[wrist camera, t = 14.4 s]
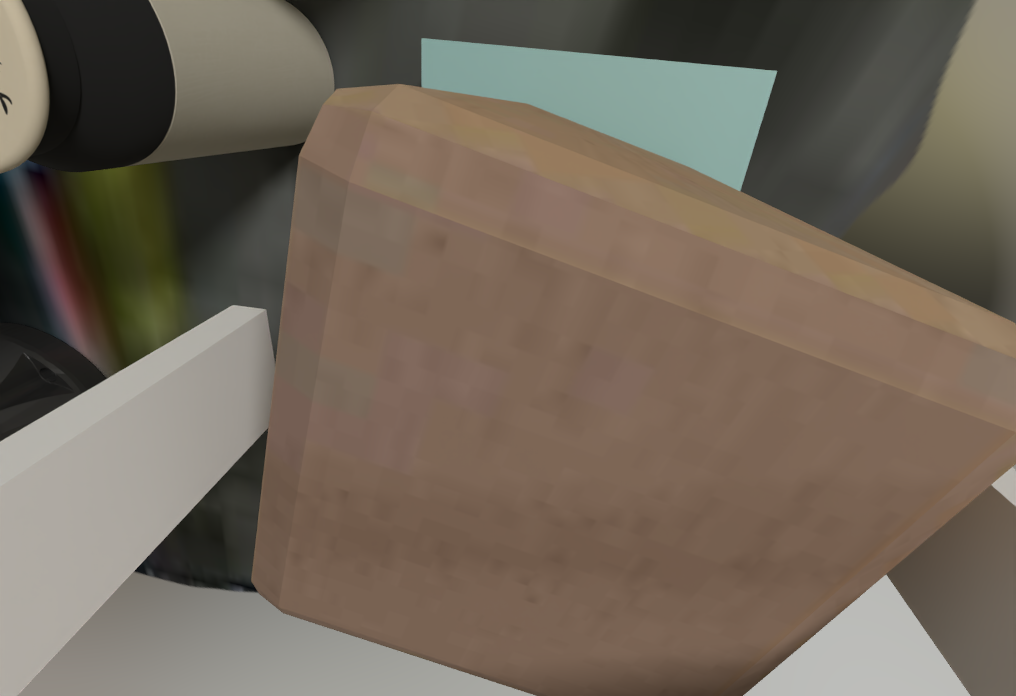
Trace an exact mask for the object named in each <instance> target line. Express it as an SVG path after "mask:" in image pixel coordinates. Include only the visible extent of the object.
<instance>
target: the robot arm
mask: <svg viewBox="0 0 1016 696" xmlns="http://www.w3.org/2000/svg"><path fill="white" fill-rule="evenodd" d="M274 374H275V361H274V355H273V348H272V342H271V336H270V330H269V324H268V318H267V312H266V309H259V308H251V307H243V306H235V305H232V306H231V307H229V308H227V309H225V310H224V311H222V312H220V313H219V314H217V315H215V316H213V317H212V318H210V319H208V320H207V321H205V322H203V323H202V324H200V325H198V326H196V327H195V328H193V329H191V330H190V331H188V332H186V333H184V334H183V335H181V336H179V337H178V338H176V339H174V340H173V341H171V342H169V343H167V344H166V345H164V346H162V347H161V348H159V349H157V350H156V351H154V352H152V353H150V354H149V355H147V356H145V357H144V358H142V359H140V360H138V361H137V362H135V363H133V364H132V365H130V366H128V367H127V368H125V369H123V370H121V371H120V372H118V373H116V374H115V375H113V376H111V377H109V378H108V379H106V378H105V377H104V376H103V375H102V374H101V373H100V371H99V370H98V369H97V368H96V367H95V366H94V365H93V364H92V363H91V362H89V361H88V360H87V359H86V358H85V357H84V356H82V355H81V354H80V353H79V352H77V351H76V350H74V349H73V348H72V347H70V346H69V345H67V344H66V343H64V342H62V341H61V340H59V339H57V338H55V337H53V336H51V335H49V334H47V333H45V332H42V331H40V330H37V329H35V328H31V327H28V326H24V325H20V324H14V323H0V696H18V695H19V694H20V693H21V691H23V689H24V688H25V687H26V686H27V685H28V684H29V683H30V682H31V681H32V680H33V679H34V678H35V677H36V676H37V674H38V673H39V672H40V671H41V670H42V669H43V668H44V667H45V666H46V665H47V663H49V661H50V660H51V659H52V658H53V657H54V656H55V655H56V654H57V653H58V652H59V651H60V650H61V649H62V648H63V647H64V646H65V644H66V643H67V642H68V641H69V640H70V639H71V638H72V637H73V636H74V635H75V634H76V633H77V632H78V630H79V629H80V628H81V627H82V626H83V625H84V624H85V623H86V622H87V621H88V620H89V619H90V618H91V617H92V616H93V615H94V613H95V612H96V611H97V610H98V609H99V608H100V607H101V606H102V605H103V604H104V603H105V602H106V600H108V598H109V597H110V596H111V595H112V594H113V593H114V592H115V591H116V590H117V589H118V588H119V587H120V586H121V584H122V583H123V582H124V581H125V580H126V579H127V578H128V577H129V576H130V575H131V574H132V573H133V572H134V571H135V570H136V569H137V567H138V566H139V565H140V564H141V563H142V562H143V561H144V560H145V559H146V558H147V557H148V556H149V555H150V554H151V552H152V551H153V550H154V549H155V548H156V547H157V546H158V545H159V544H160V543H161V542H162V541H163V540H164V539H165V537H166V536H167V535H168V534H169V533H170V532H171V531H172V530H173V529H174V528H175V527H176V526H177V525H178V524H179V522H180V521H181V520H182V519H183V518H184V517H185V516H186V515H187V514H188V513H189V512H190V511H191V510H192V509H193V507H194V506H195V505H196V504H197V503H198V502H199V501H200V500H201V499H202V498H203V497H204V496H205V495H206V494H207V493H208V491H209V490H210V489H211V488H212V487H213V486H214V485H215V484H216V483H217V482H218V481H219V480H220V479H221V478H222V476H223V475H224V474H225V473H226V472H227V471H228V470H229V469H230V468H231V467H232V466H233V465H234V464H235V463H236V461H237V460H238V459H239V458H240V457H241V456H242V455H243V454H244V453H245V452H246V451H247V450H248V449H249V448H250V446H251V445H252V444H253V443H254V442H255V441H256V440H257V439H258V438H259V437H260V436H261V435H262V434H263V433H264V432H265V430H266V429H267V428H268V427H269V419H270V410H271V401H272V392H273V383H274ZM886 575H887V576H888V577H889V579H890V580H891V582H892V583H893V585H894V586H895V587H896V589H897V590H898V592H899V593H900V595H901V596H902V598H903V599H904V600H905V602H906V603H907V605H908V606H909V608H910V609H911V610H912V612H913V613H914V615H915V616H916V618H917V619H918V620H919V622H920V623H921V625H922V626H923V628H924V629H925V631H926V632H927V634H928V635H929V636H930V638H931V639H932V641H933V642H934V644H935V645H936V646H937V648H938V649H939V651H940V652H941V654H942V655H943V656H944V658H945V659H946V661H947V662H948V664H949V665H950V667H951V668H952V669H953V671H954V672H955V673H956V675H957V677H958V678H959V680H960V681H961V682H962V684H963V685H964V687H965V688H966V690H967V691H968V692H969V694H970V695H971V696H1016V470H1015V469H1014V468H1013V467H1012V468H1010V469H1009V470H1008V471H1007V472H1006V473H1004V474H1003V475H1002V476H1001V477H1000V478H999V479H997V480H996V481H995V482H994V483H993V484H992V485H990V486H989V487H988V488H987V489H986V490H984V491H983V492H982V493H981V494H980V495H979V496H977V497H976V498H975V499H974V500H973V501H971V502H970V503H969V504H968V505H967V506H966V507H964V508H963V509H962V510H961V511H960V512H959V513H957V514H956V515H955V516H954V517H953V518H951V519H950V520H949V521H948V522H947V523H946V524H944V525H943V526H942V527H941V528H940V529H939V530H937V531H936V532H935V533H934V534H933V535H931V536H930V537H929V538H928V539H927V540H926V541H924V542H923V543H922V544H921V545H920V546H919V547H917V548H916V549H915V550H914V551H913V552H911V553H910V554H909V555H908V556H907V557H906V558H904V559H903V560H902V561H901V562H900V563H898V564H897V565H896V566H895V567H894V568H893V569H891V570H890V571H889V572H888V573H887V574H886Z"/></svg>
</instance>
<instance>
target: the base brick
mask: <svg viewBox="0 0 1016 696" xmlns="http://www.w3.org/2000/svg"><path fill="white" fill-rule="evenodd" d="M776 73H777V71H770V70H759V69H749V68H738V67H727V66H716V65H705V64H695V63H684V62H673V61H662V60H651V59H641V58H630V57H619V56H608V55H597V54H587V53H576V52H565V51H554V50H543V49H533V48H522V47H511V46H500V45H489V44H479V43H468V42H457V41H446V40H435V39H425V38H422V87H423V88H429V89H436V90H442V91H449V92H455V93H462V94H468V95H475V96H481V97H488V98H494V99H501V100H507V101H514V102H520V103H527V104H530V105H532V106H535V107H537V108H540V109H542V110H545V111H548V112H550V113H553V114H555V115H558V116H560V117H563V118H565V119H568V120H571V121H573V122H576V123H578V124H581V125H583V126H586V127H588V128H591V129H594V130H596V131H599V132H601V133H604V134H606V135H609V136H611V137H614V138H616V139H619V140H622V141H624V142H627V143H629V144H632V145H634V146H637V147H639V148H642V149H645V150H647V151H650V152H652V153H655V154H657V155H660V156H662V157H665V158H667V159H670V160H673V161H675V162H678V163H680V164H683V165H685V166H688V167H690V168H692V169H694V170H696V171H698V172H700V173H703V174H705V175H707V176H709V177H711V178H713V179H715V180H717V181H719V182H721V183H723V184H726V185H728V186H730V187H732V188H734V189H736V190H738V191H740V190H741V187H742V183H743V180H744V177H745V174H746V170H747V167H748V164H749V161H750V157H751V154H752V151H753V148H754V145H755V141H756V138H757V135H758V132H759V128H760V125H761V122H762V119H763V115H764V112H765V109H766V106H767V102H768V99H769V96H770V93H771V89H772V86H773V83H774V80H775V77H776Z"/></svg>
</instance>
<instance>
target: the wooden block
mask: <svg viewBox="0 0 1016 696" xmlns="http://www.w3.org/2000/svg"><path fill="white" fill-rule="evenodd" d="M1015 464H1016V324H1015V323H1014V322H1012V321H1010V320H1007V319H1006V318H1003V317H1001V316H999V315H997V314H995V313H993V312H991V311H988V310H987V309H985V308H982V307H980V306H978V305H976V304H974V303H972V302H970V301H968V300H966V299H964V298H962V297H959V296H957V295H955V294H953V293H951V292H949V291H947V290H945V289H943V288H941V287H939V286H937V285H934V284H932V283H930V282H928V281H926V280H924V279H922V278H920V277H918V276H915V275H914V274H911V273H909V272H907V271H905V270H903V269H901V268H899V267H897V266H895V265H892V264H891V263H888V262H886V261H884V260H882V259H880V258H878V257H876V256H874V255H872V254H869V253H868V252H866V251H863V250H861V249H859V248H857V247H855V246H853V245H851V244H849V243H846V242H845V241H843V240H840V239H838V238H836V237H834V236H832V235H830V234H828V233H826V232H824V231H822V230H820V229H817V228H815V227H813V226H811V225H809V224H807V223H805V222H803V221H801V220H799V219H797V218H795V217H792V216H790V215H788V214H786V213H784V212H782V211H780V210H778V209H776V208H774V207H772V206H769V205H767V204H765V203H763V202H761V201H759V200H757V199H755V198H753V197H751V196H749V195H746V194H744V193H742V192H740V191H738V190H736V189H734V188H732V187H730V186H728V185H726V184H723V183H721V182H719V181H717V180H715V179H713V178H711V177H709V176H707V175H705V174H703V173H700V172H698V171H696V170H694V169H692V168H690V167H688V166H685V165H683V164H680V163H678V162H675V161H673V160H670V159H667V158H665V157H662V156H660V155H657V154H655V153H652V152H650V151H647V150H645V149H642V148H639V147H637V146H634V145H632V144H629V143H627V142H624V141H622V140H619V139H616V138H614V137H611V136H609V135H606V134H604V133H601V132H599V131H596V130H594V129H591V128H588V127H586V126H583V125H581V124H578V123H576V122H573V121H571V120H568V119H565V118H563V117H560V116H558V115H555V114H553V113H550V112H548V111H545V110H542V109H540V108H537V107H535V106H532V105H530V104H527V103H520V102H514V101H507V100H501V99H494V98H488V97H481V96H475V95H468V94H462V93H455V92H449V91H442V90H436V89H429V88H423V87H416V86H410V85H403V84H393V85H380V86H368V87H355V88H342V89H337V90H336V91H335V92H334V93H333V94H332V95H331V96H330V97H329V98H328V99H327V100H326V102H325V103H324V104H323V105H322V107H321V110H320V112H319V114H318V116H317V118H316V120H315V122H314V125H313V127H312V129H311V131H310V133H309V135H308V137H307V139H306V142H305V144H304V146H303V148H302V150H301V152H300V154H299V160H298V169H297V178H296V187H295V196H294V205H293V214H292V223H291V232H290V241H289V249H288V258H287V267H286V276H285V285H284V294H283V303H282V312H281V321H280V330H279V339H278V347H277V356H276V365H275V374H274V383H273V392H272V401H271V410H270V419H269V428H268V436H267V445H266V454H265V463H264V472H263V481H262V490H261V499H260V508H259V517H258V526H257V534H256V543H255V552H254V561H253V570H252V579H251V581H252V583H253V584H254V586H255V588H256V589H257V591H258V592H259V594H260V595H261V596H263V597H264V598H265V599H266V600H268V601H269V602H270V603H271V604H273V605H274V606H275V607H276V608H278V609H279V610H280V611H281V612H283V613H285V614H288V615H291V616H294V617H297V618H300V619H303V620H306V621H309V622H312V623H315V624H318V625H322V626H324V627H327V628H331V629H334V630H337V631H340V632H343V633H346V634H349V635H352V636H355V637H358V638H362V639H364V640H367V641H371V642H374V643H377V644H380V645H383V646H386V647H389V648H392V649H395V650H398V651H401V652H404V653H407V654H410V655H413V656H417V657H420V658H423V659H426V660H429V661H432V662H435V663H438V664H441V665H444V666H447V667H451V668H453V669H457V670H459V671H463V672H466V673H469V674H472V675H475V676H478V677H481V678H484V679H488V680H490V681H493V682H496V683H499V684H502V685H506V686H509V687H512V688H515V689H518V690H521V691H524V692H527V693H530V694H533V695H536V696H743V695H744V694H745V693H747V692H748V691H749V690H750V689H751V688H752V687H754V686H755V685H756V684H757V683H758V682H760V681H761V680H762V679H763V678H764V677H765V676H767V675H768V674H769V673H770V672H771V671H772V670H774V669H775V668H776V667H777V666H778V665H779V664H780V663H782V662H783V661H784V660H785V659H786V658H788V657H789V656H790V655H791V654H792V653H794V652H795V651H796V650H797V649H798V648H800V647H801V646H802V645H803V644H804V643H805V642H807V641H808V640H809V639H810V638H811V637H813V636H814V635H815V634H816V633H817V632H818V631H820V630H821V629H822V628H823V627H824V626H825V625H827V624H828V623H829V622H830V621H831V620H833V619H834V618H835V617H836V616H837V615H838V614H840V613H841V612H842V611H843V610H844V609H845V608H847V607H848V606H849V605H850V604H851V603H852V602H854V601H855V600H856V599H857V598H858V597H860V596H861V595H862V594H863V593H864V592H866V590H868V589H869V588H870V587H871V586H872V585H874V584H875V583H876V582H877V581H878V580H880V579H881V578H882V577H883V576H884V575H886V574H887V573H888V572H889V571H890V570H891V569H893V568H894V567H895V566H896V565H897V564H898V563H900V562H901V561H902V560H903V559H904V558H906V557H907V556H908V555H909V554H910V553H911V552H913V551H914V550H915V549H916V548H917V547H919V546H920V545H921V544H922V543H923V542H924V541H926V540H927V539H928V538H929V537H930V536H931V535H933V534H934V533H935V532H936V531H937V530H939V529H940V528H941V527H942V526H943V525H944V524H946V523H947V522H948V521H949V520H950V519H951V518H953V517H954V516H955V515H956V514H957V513H959V512H960V511H961V510H962V509H963V508H964V507H966V506H967V505H968V504H969V503H970V502H971V501H973V500H974V499H975V498H976V497H977V496H979V495H980V494H981V493H982V492H983V491H984V490H986V489H987V488H988V487H989V486H990V485H992V484H993V483H994V482H995V481H996V480H997V479H999V478H1000V477H1001V476H1002V475H1003V474H1004V473H1006V472H1007V471H1008V470H1009V469H1010V468H1012V467H1013V466H1014V465H1015Z"/></svg>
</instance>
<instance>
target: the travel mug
mask: <svg viewBox="0 0 1016 696" xmlns="http://www.w3.org/2000/svg"><path fill="white" fill-rule="evenodd" d="M333 93H334V75H333V69H332V64H331V61H330V57H329V54H328V52H327V49H326V47H325V45H324V43H323V40H322V39H321V37H320V35H319V33H318V32H317V30H316V29H315V27H314V26H313V25H312V24H311V22H310V21H309V20H308V19H307V18H306V17H305V16H304V15H303V14H302V13H301V12H300V11H299V10H298V9H297V8H295V7H294V6H293V5H291V4H290V3H288V2H286V1H285V0H0V173H3V172H6V171H9V170H12V169H13V168H15V167H17V166H19V165H21V164H22V163H23V162H25V161H26V160H29V161H32V162H34V163H37V164H40V165H43V166H46V167H49V168H52V169H56V170H61V171H68V172H85V171H94V170H102V169H110V168H117V167H125V166H133V165H141V164H149V163H157V162H165V161H172V160H180V159H188V158H196V157H204V156H212V155H220V154H227V153H235V152H243V151H251V150H259V149H267V148H275V147H282V146H290V145H296V144H300V143H303V142H305V141H306V139H307V137H308V135H309V133H310V131H311V129H312V127H313V125H314V122H315V120H316V118H317V116H318V114H319V112H320V110H321V107H322V105H323V104H324V103H325V102H326V100H327V99H328V98H329V97H330V96H331V95H332V94H333Z"/></svg>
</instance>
